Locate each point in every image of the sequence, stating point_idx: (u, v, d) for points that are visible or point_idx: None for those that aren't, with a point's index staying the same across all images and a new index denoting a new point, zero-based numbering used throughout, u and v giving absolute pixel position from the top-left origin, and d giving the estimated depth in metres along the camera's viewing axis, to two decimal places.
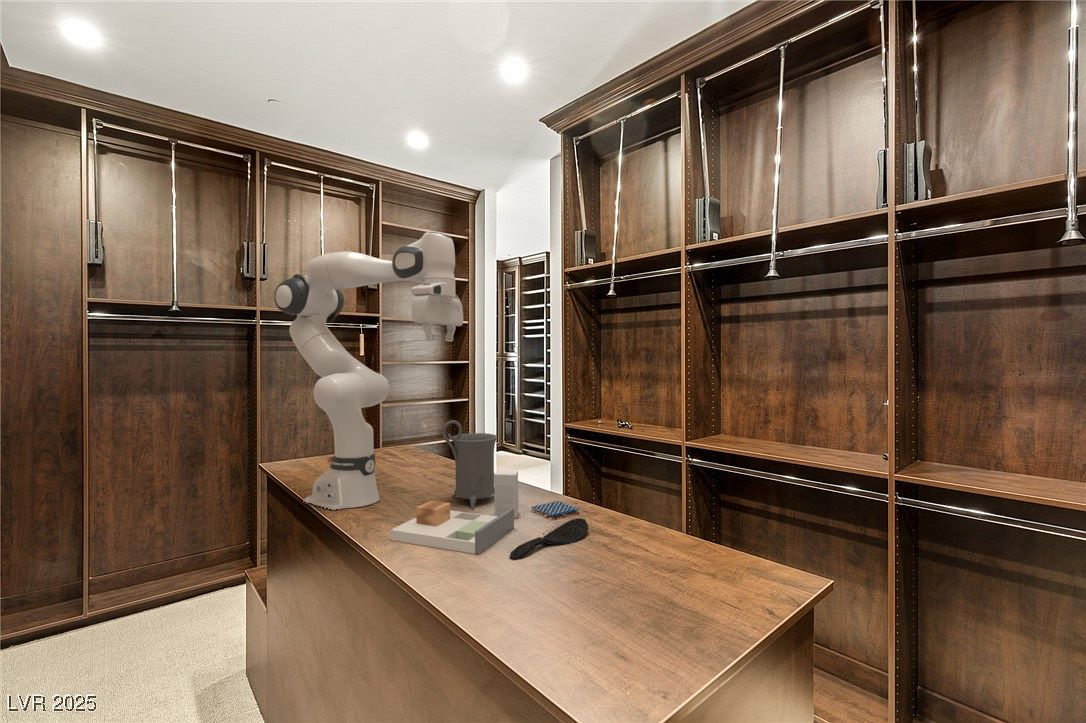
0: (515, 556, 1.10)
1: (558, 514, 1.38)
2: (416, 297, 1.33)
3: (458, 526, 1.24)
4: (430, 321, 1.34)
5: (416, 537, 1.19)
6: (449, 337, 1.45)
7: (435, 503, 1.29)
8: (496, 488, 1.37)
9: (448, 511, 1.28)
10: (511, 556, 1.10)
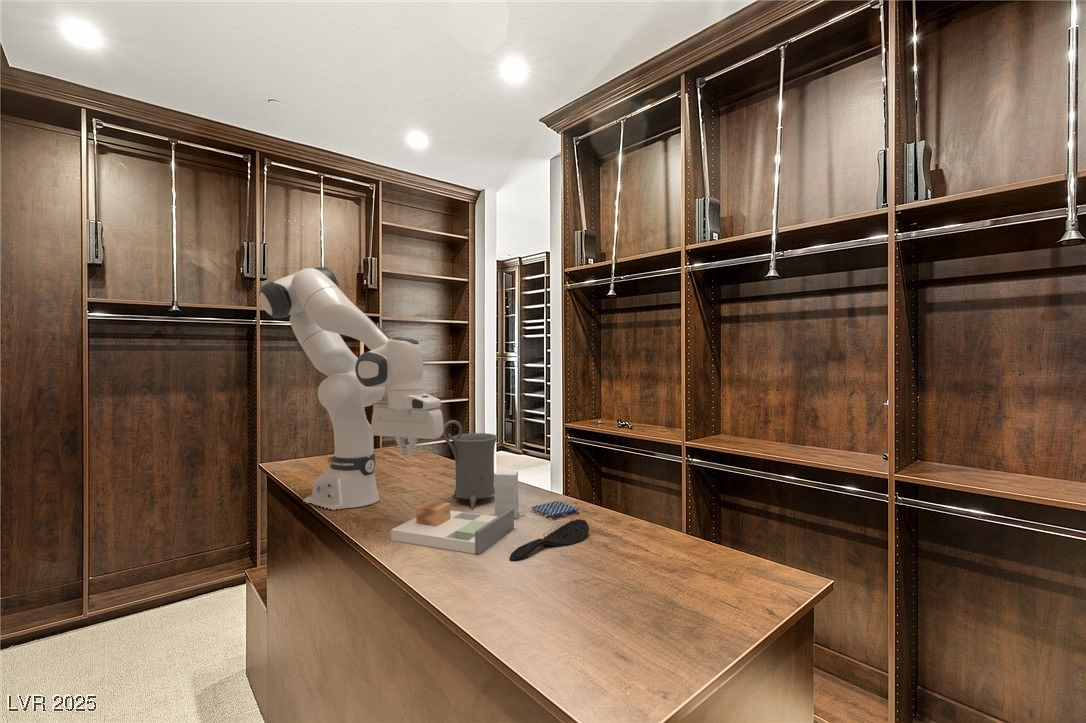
0: (515, 558, 1.09)
1: (558, 514, 1.38)
2: (433, 412, 1.26)
3: (458, 526, 1.24)
4: None
5: (416, 537, 1.19)
6: None
7: (435, 503, 1.29)
8: (496, 488, 1.37)
9: (448, 511, 1.28)
10: (511, 558, 1.09)
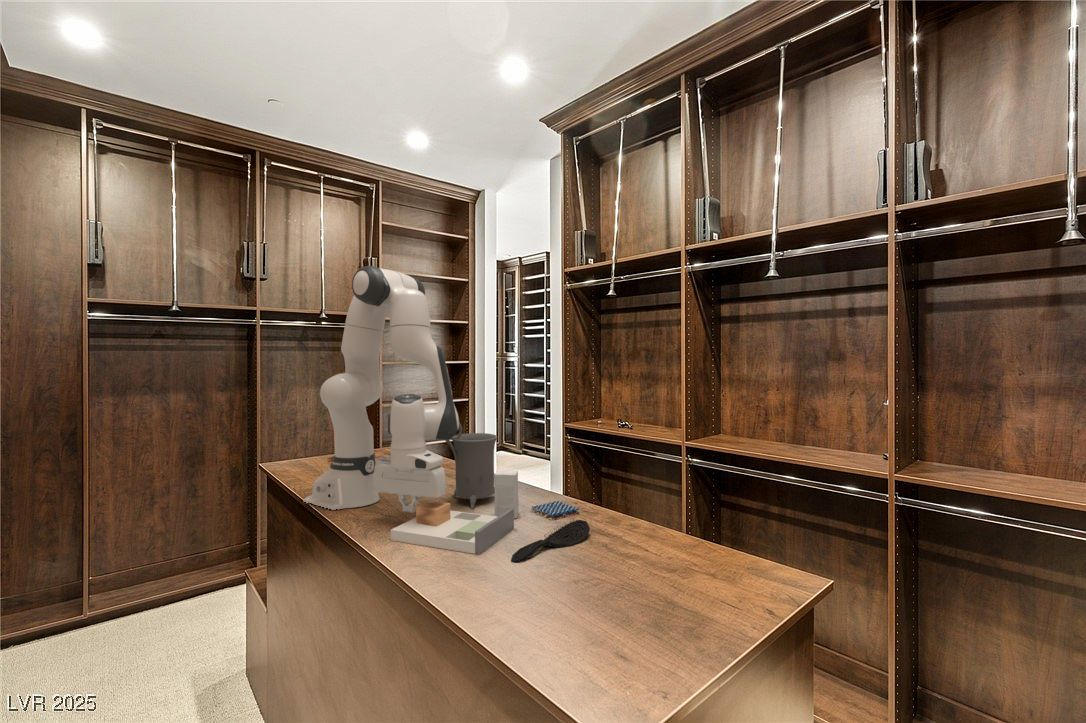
0: (517, 559, 1.08)
1: (558, 514, 1.38)
2: (436, 471, 1.26)
3: (458, 526, 1.24)
4: None
5: (416, 537, 1.19)
6: None
7: (435, 503, 1.29)
8: (496, 488, 1.37)
9: (448, 511, 1.28)
10: (513, 559, 1.09)
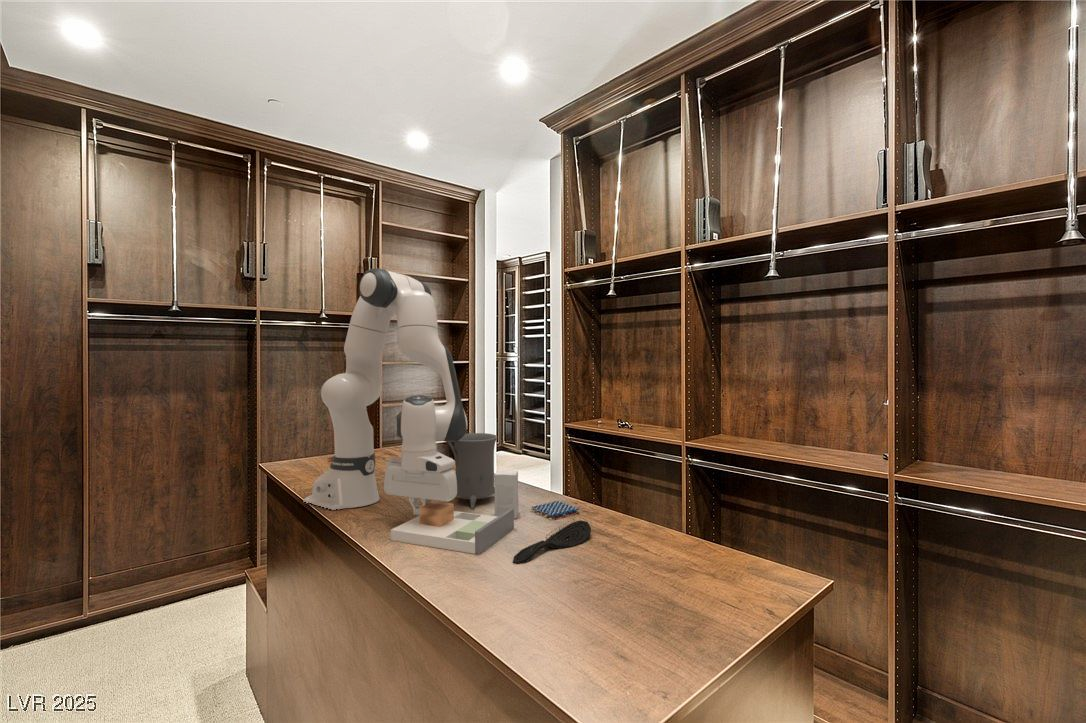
0: (519, 560, 1.08)
1: (558, 514, 1.38)
2: (447, 474, 1.24)
3: (458, 526, 1.24)
4: None
5: (416, 537, 1.19)
6: None
7: (438, 503, 1.29)
8: (496, 488, 1.37)
9: (451, 512, 1.28)
10: (514, 560, 1.08)
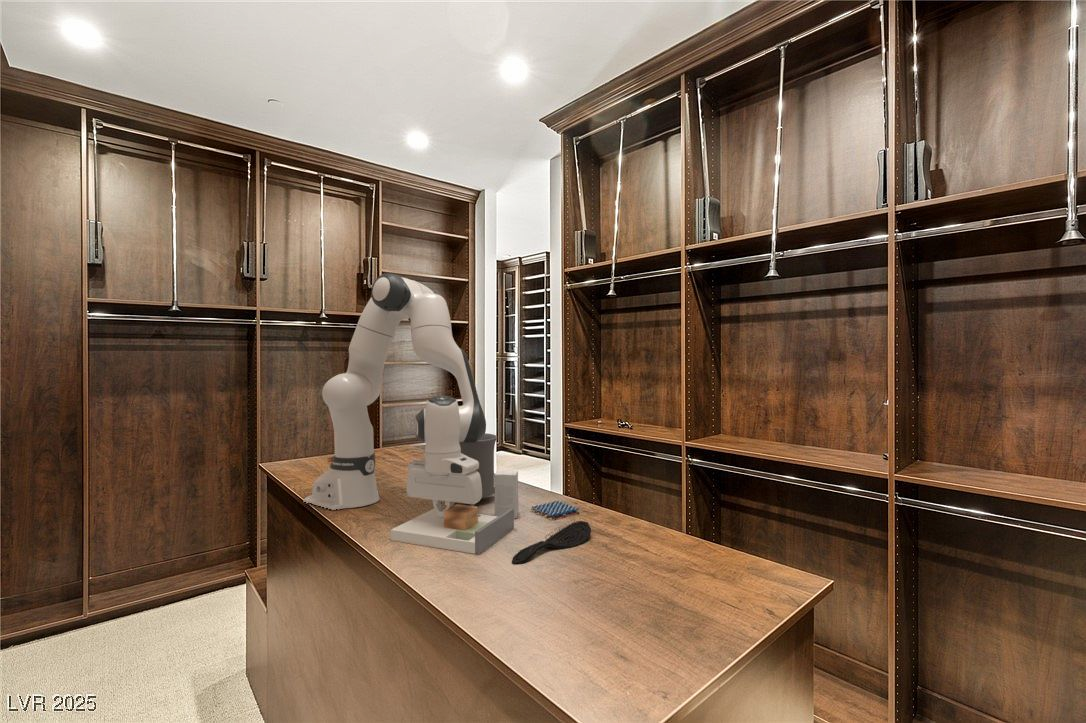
0: (517, 561, 1.07)
1: (558, 514, 1.38)
2: (472, 476, 1.22)
3: None
4: None
5: (416, 537, 1.19)
6: None
7: (462, 506, 1.26)
8: (496, 488, 1.37)
9: (476, 515, 1.25)
10: (513, 561, 1.08)
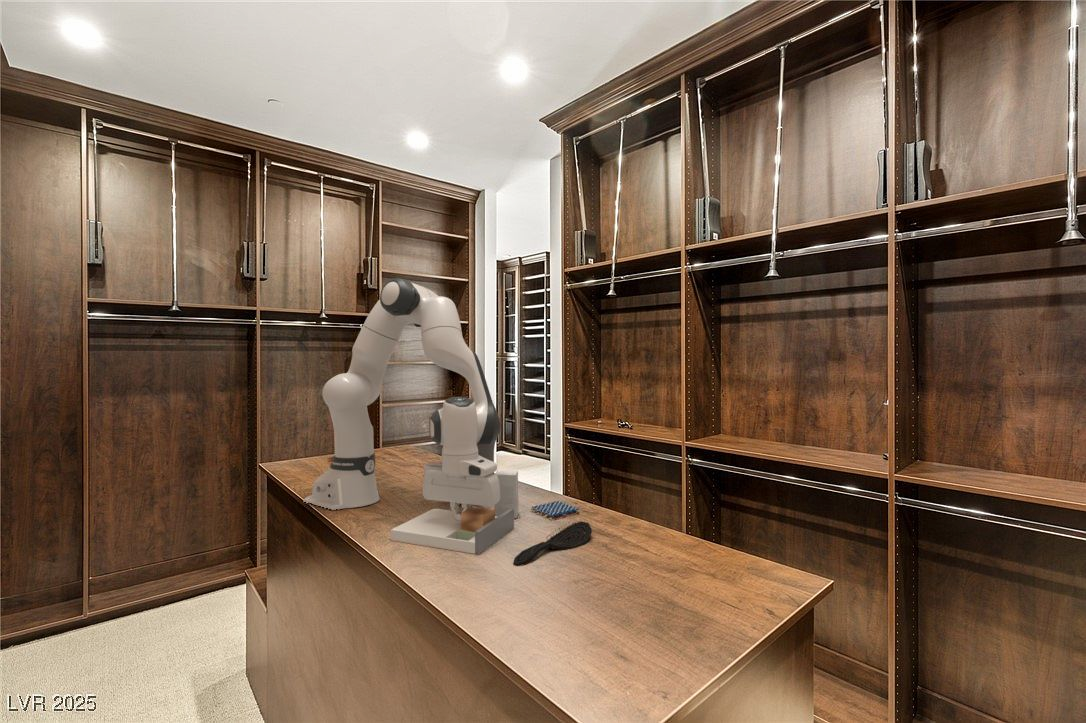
0: (519, 562, 1.07)
1: (558, 514, 1.38)
2: (490, 478, 1.20)
3: (458, 526, 1.24)
4: None
5: (416, 537, 1.19)
6: None
7: (479, 509, 1.24)
8: None
9: (493, 517, 1.23)
10: (515, 562, 1.07)
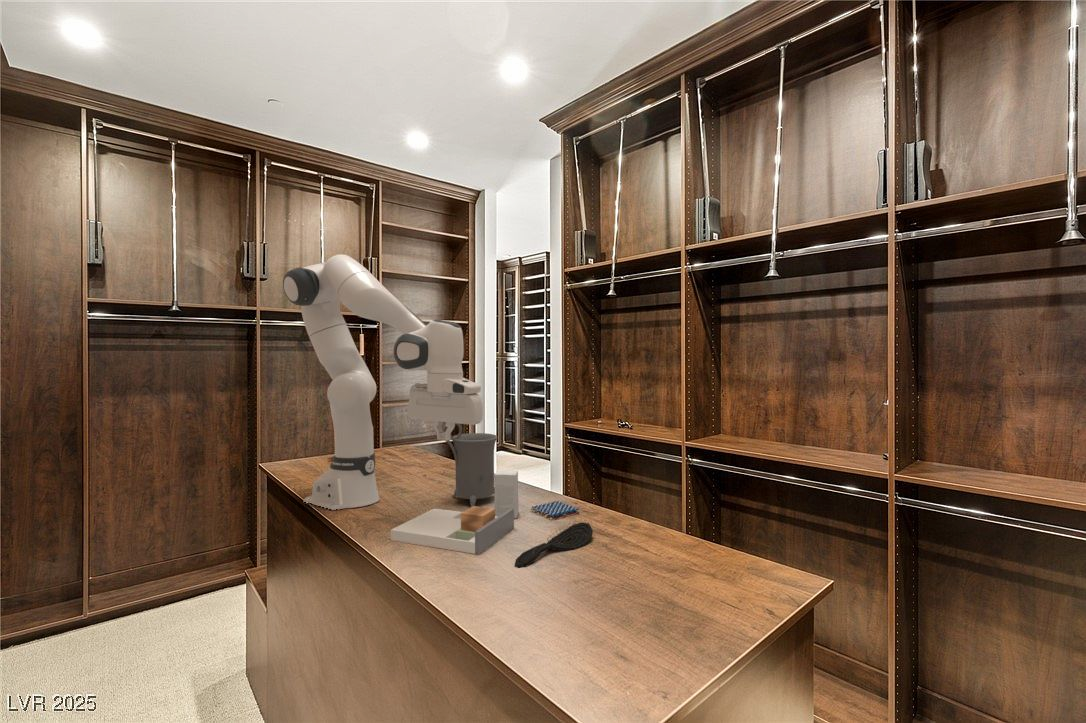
0: (521, 563, 1.06)
1: (558, 514, 1.38)
2: (474, 397, 1.23)
3: (458, 526, 1.24)
4: None
5: (416, 537, 1.19)
6: None
7: (479, 509, 1.24)
8: (496, 488, 1.37)
9: (493, 517, 1.23)
10: (516, 563, 1.06)
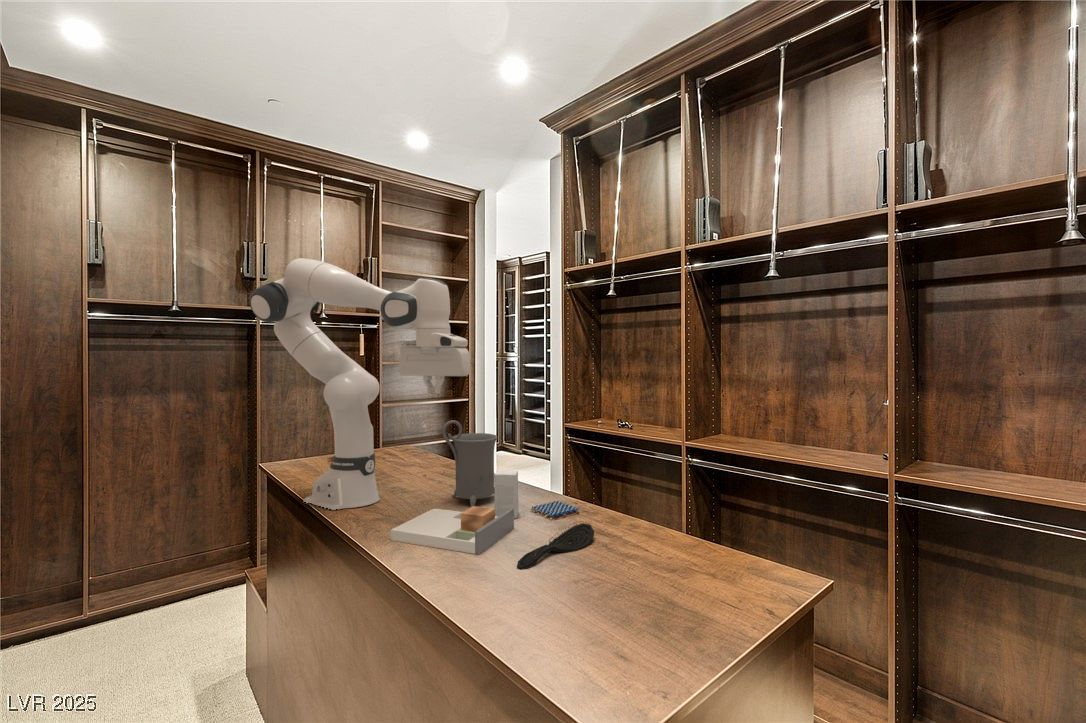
0: (523, 565, 1.05)
1: (558, 514, 1.38)
2: (461, 350, 1.28)
3: (458, 526, 1.24)
4: None
5: (416, 537, 1.19)
6: None
7: (479, 509, 1.24)
8: (496, 488, 1.37)
9: (493, 517, 1.23)
10: (519, 565, 1.05)
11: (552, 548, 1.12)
